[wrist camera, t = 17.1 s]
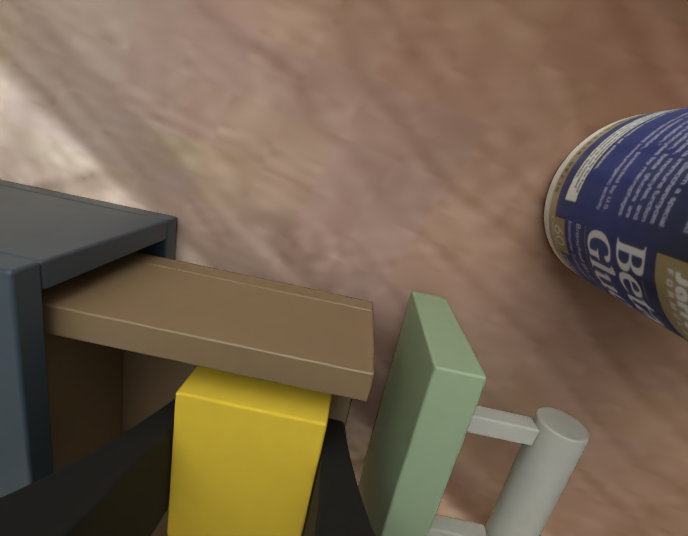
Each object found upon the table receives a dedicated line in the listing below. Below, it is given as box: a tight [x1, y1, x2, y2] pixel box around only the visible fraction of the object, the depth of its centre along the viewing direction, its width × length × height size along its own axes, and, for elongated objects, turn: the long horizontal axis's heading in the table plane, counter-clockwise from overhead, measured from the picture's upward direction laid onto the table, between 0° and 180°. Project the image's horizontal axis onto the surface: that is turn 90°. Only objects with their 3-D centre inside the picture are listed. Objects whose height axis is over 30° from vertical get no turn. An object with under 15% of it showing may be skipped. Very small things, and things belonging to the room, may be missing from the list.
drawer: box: [42, 252, 589, 536], centre depth 12 cm, size 16×10×5 cm, turn 79°
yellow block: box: [167, 366, 332, 536], centre depth 11 cm, size 5×4×4 cm
